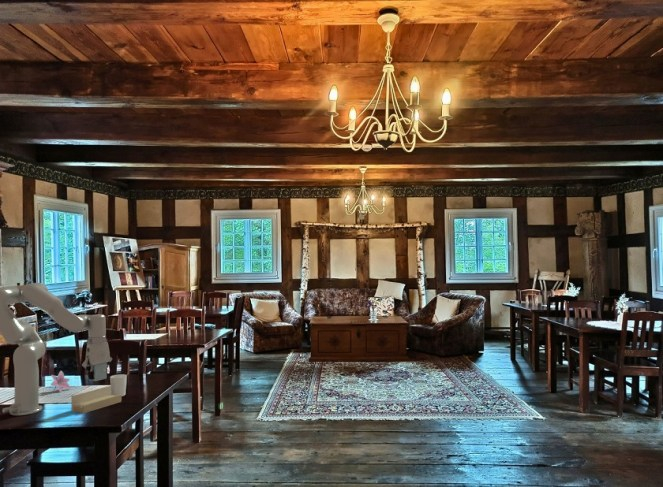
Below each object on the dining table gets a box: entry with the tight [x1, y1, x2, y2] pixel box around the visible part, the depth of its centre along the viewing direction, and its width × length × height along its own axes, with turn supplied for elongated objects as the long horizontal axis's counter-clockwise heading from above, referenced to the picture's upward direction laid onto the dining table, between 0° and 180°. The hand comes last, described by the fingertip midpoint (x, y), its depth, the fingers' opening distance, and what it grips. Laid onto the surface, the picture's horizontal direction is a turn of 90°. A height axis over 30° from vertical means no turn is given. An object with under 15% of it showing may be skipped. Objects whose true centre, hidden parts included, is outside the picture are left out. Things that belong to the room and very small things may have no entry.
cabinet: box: [88, 363, 108, 382], centre depth 226 cm, size 6×6×8 cm
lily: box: [50, 370, 72, 393], centre depth 255 cm, size 12×12×10 cm
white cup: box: [109, 373, 128, 397], centre depth 243 cm, size 8×8×10 cm
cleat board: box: [70, 385, 122, 414], centre depth 225 cm, size 20×9×7 cm, turn 152°
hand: (97, 377), depth 226 cm, fingers closed on cabinet, 6 cm apart
